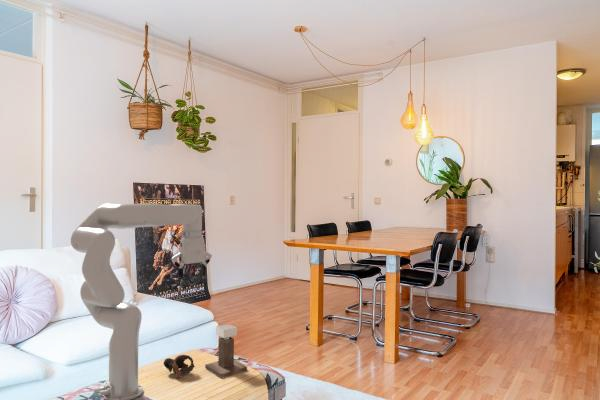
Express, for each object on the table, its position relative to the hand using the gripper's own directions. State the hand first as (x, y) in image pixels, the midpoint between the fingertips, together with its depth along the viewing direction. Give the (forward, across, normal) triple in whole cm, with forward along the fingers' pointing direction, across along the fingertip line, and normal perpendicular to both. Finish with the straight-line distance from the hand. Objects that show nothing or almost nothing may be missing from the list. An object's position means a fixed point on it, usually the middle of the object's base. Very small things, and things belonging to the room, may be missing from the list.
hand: (191, 276), depth 179 cm
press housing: (+36, +9, -13) cm, 39 cm away
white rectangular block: (+34, +9, -13) cm, 38 cm away
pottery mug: (+37, -8, -5) cm, 38 cm away
